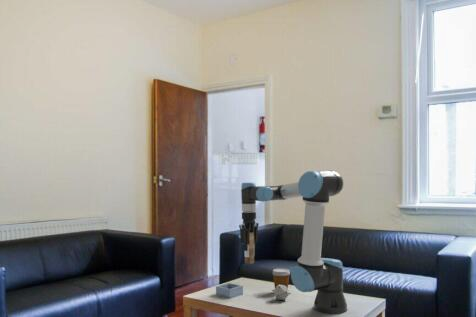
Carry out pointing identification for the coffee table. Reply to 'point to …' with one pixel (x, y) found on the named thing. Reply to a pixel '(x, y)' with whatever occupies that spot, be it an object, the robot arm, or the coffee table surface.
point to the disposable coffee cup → (281, 277)
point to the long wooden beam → (250, 249)
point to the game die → (281, 292)
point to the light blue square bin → (229, 290)
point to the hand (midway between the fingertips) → (249, 256)
